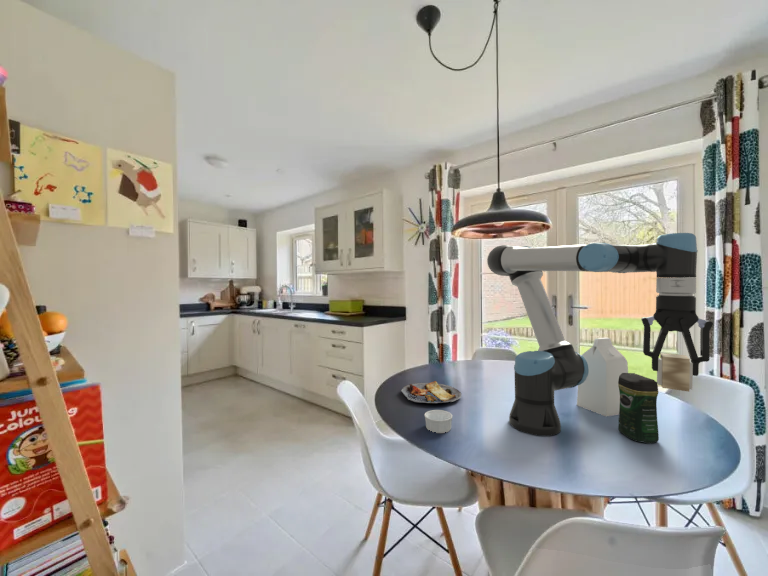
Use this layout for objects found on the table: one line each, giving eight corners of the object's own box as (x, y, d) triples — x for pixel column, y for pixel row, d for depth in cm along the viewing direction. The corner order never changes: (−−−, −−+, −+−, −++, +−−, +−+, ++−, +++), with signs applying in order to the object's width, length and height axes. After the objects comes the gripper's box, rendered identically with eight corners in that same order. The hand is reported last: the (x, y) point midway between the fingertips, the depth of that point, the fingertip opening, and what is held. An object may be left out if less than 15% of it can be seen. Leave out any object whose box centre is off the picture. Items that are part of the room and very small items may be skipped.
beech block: (662, 387, 82) (662, 356, 82) (659, 382, 86) (660, 352, 86) (689, 391, 79) (689, 359, 79) (685, 386, 83) (685, 355, 83)
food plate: (395, 388, 144) (395, 380, 144) (444, 385, 149) (444, 377, 149) (413, 411, 119) (413, 401, 119) (470, 406, 125) (470, 397, 125)
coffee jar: (665, 444, 92) (664, 379, 92) (636, 444, 92) (636, 379, 92) (638, 429, 101) (638, 370, 101) (613, 429, 102) (613, 370, 101)
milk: (599, 401, 126) (599, 335, 126) (630, 412, 115) (630, 339, 115) (576, 405, 122) (576, 336, 122) (606, 416, 112) (605, 341, 112)
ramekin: (431, 436, 98) (431, 422, 98) (420, 424, 107) (420, 411, 107) (457, 432, 101) (457, 418, 100) (444, 421, 109) (444, 408, 109)
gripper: (631, 294, 84) (630, 383, 84) (731, 296, 74) (728, 397, 74) (630, 293, 90) (628, 376, 91) (721, 295, 80) (719, 388, 80)
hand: (673, 385), depth 82 cm, fingers closed on beech block, 5 cm apart
